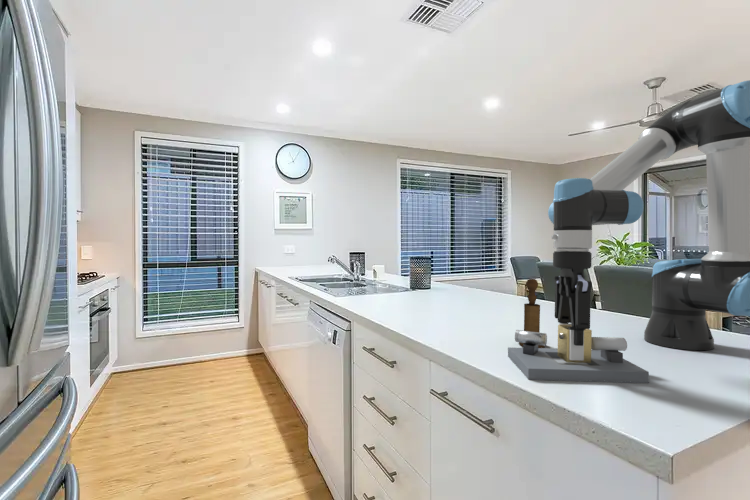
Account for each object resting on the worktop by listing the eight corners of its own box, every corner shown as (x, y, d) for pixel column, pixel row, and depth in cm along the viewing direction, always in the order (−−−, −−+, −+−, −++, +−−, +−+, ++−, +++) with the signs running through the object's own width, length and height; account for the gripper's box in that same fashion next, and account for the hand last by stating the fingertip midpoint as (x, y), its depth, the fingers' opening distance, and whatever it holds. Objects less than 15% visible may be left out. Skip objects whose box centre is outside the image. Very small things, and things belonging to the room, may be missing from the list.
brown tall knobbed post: (547, 349, 100) (547, 280, 100) (520, 348, 101) (521, 279, 101) (541, 343, 107) (542, 278, 106) (516, 341, 108) (517, 277, 108)
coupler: (582, 356, 87) (583, 325, 87) (593, 363, 82) (594, 330, 82) (555, 355, 87) (555, 324, 87) (564, 362, 82) (564, 329, 82)
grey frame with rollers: (606, 358, 92) (607, 329, 92) (648, 383, 76) (649, 347, 76) (507, 356, 94) (508, 327, 94) (528, 379, 78) (528, 344, 78)
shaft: (547, 352, 90) (547, 331, 89) (543, 356, 86) (543, 335, 86) (518, 347, 93) (518, 328, 93) (513, 352, 90) (513, 331, 90)
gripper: (540, 249, 94) (539, 344, 94) (571, 250, 76) (570, 368, 76) (572, 249, 93) (571, 345, 93) (611, 251, 75) (609, 369, 75)
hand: (570, 355), depth 85 cm, fingers closed on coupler, 5 cm apart
